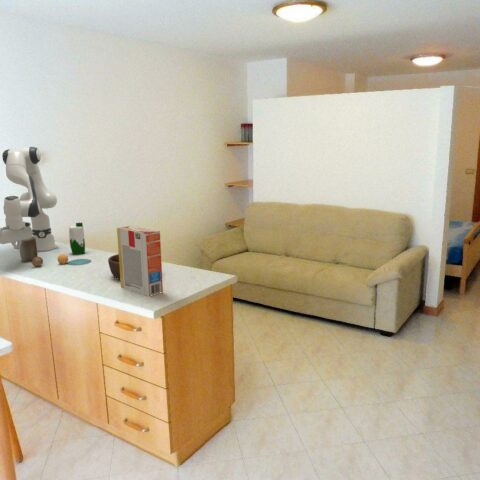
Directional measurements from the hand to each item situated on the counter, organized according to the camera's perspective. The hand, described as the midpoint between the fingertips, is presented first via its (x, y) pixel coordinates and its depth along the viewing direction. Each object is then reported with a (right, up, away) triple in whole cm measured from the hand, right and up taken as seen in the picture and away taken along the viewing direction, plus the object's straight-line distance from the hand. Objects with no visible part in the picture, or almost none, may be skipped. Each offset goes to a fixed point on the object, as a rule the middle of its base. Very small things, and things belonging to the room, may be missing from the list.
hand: (17, 248), depth 261 cm
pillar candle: (-3, -8, +21) cm, 22 cm away
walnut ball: (+9, -8, +6) cm, 13 cm away
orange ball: (+22, -6, +11) cm, 25 cm away
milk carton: (+22, -4, +37) cm, 43 cm away
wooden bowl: (+70, -14, -13) cm, 72 cm away
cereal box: (+79, -19, -38) cm, 90 cm away
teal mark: (+30, -8, +15) cm, 35 cm away
